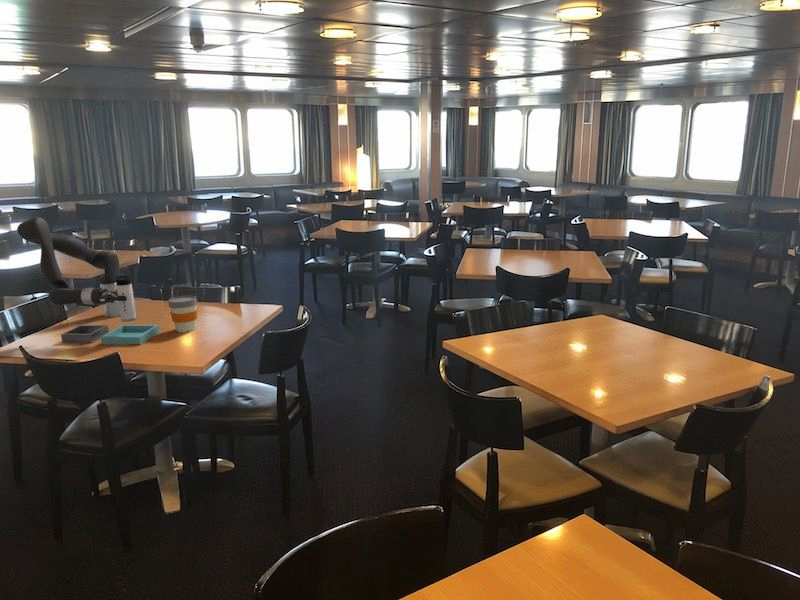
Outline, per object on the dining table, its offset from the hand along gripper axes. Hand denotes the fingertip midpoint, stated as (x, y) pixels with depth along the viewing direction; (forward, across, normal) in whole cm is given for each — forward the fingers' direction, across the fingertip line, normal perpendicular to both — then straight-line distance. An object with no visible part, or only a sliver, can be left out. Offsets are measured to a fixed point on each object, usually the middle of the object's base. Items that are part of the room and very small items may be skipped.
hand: (130, 296), depth 276 cm
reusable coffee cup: (+18, +13, +20) cm, 30 cm away
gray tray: (-24, 0, +20) cm, 31 cm away
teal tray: (-2, 0, +20) cm, 20 cm away
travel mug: (-2, 0, +11) cm, 11 cm away
